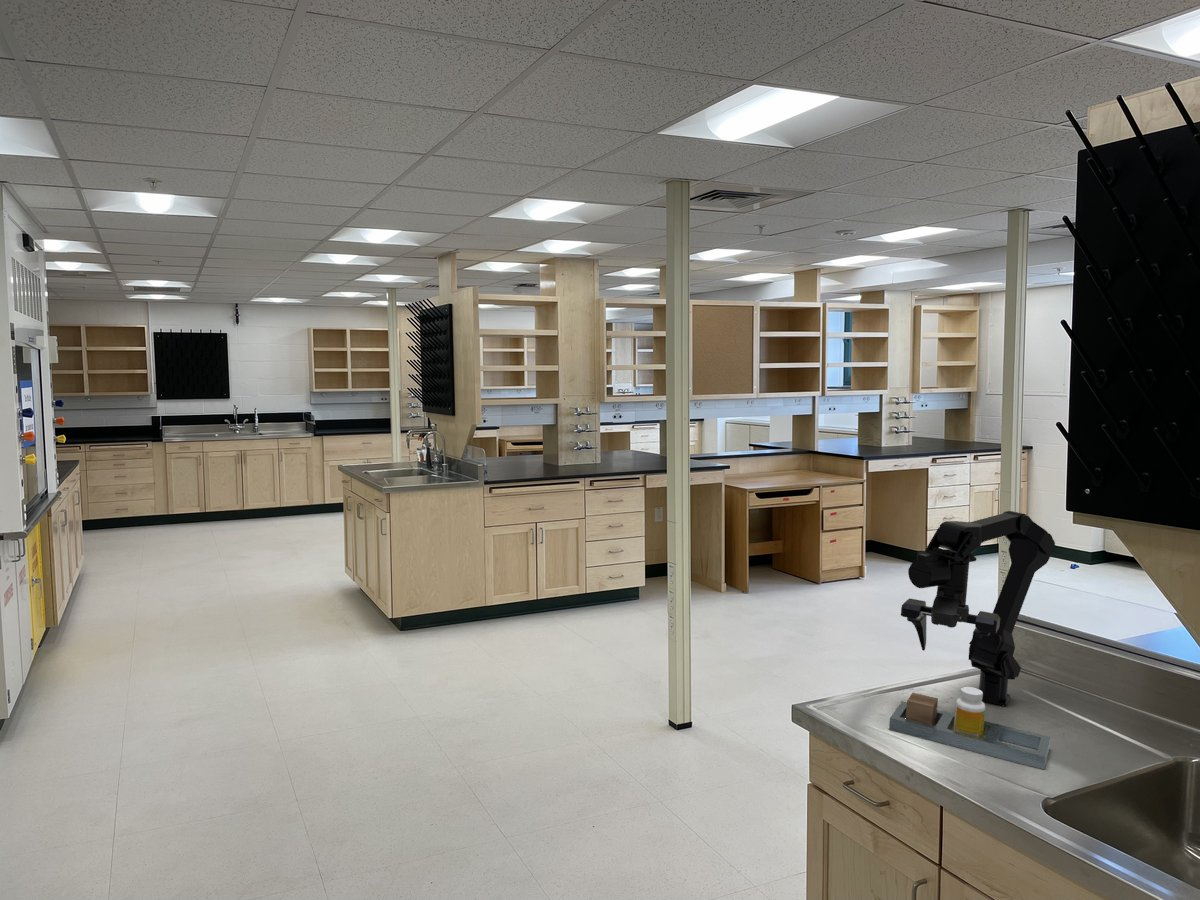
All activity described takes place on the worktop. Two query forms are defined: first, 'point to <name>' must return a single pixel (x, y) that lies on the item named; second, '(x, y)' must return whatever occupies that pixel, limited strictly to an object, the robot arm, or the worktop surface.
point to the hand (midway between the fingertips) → (946, 654)
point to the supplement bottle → (970, 712)
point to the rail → (977, 738)
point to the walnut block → (922, 709)
